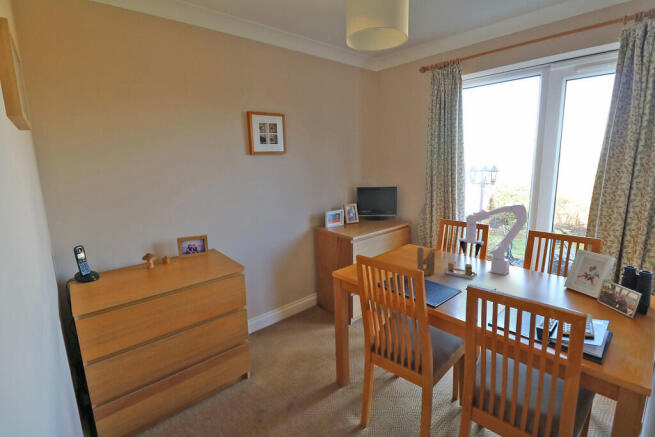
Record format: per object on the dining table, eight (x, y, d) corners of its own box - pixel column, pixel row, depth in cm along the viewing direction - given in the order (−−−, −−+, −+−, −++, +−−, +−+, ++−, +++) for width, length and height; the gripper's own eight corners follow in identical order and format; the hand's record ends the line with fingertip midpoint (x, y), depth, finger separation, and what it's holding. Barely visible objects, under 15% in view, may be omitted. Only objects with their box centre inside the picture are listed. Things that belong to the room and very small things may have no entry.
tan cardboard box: (470, 272, 186) (471, 264, 185) (471, 275, 182) (472, 266, 180) (464, 272, 187) (465, 263, 186) (465, 275, 183) (466, 266, 181)
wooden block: (434, 274, 189) (434, 246, 186) (419, 276, 186) (419, 248, 183) (430, 272, 193) (431, 244, 189) (415, 274, 190) (415, 247, 186)
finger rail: (476, 275, 184) (477, 264, 183) (471, 279, 179) (472, 269, 177) (452, 269, 195) (452, 259, 193) (446, 273, 189) (446, 263, 188)
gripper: (485, 233, 189) (484, 254, 191) (461, 230, 199) (461, 250, 202) (481, 236, 184) (480, 257, 187) (457, 232, 194) (456, 253, 197)
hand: (470, 254), depth 194 cm, fingers open, 7 cm apart
